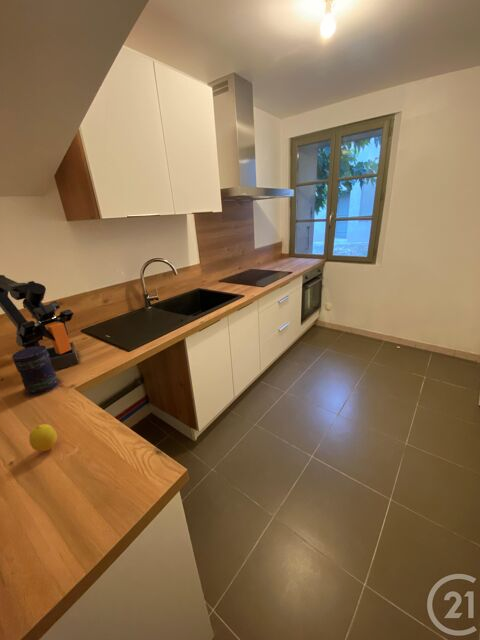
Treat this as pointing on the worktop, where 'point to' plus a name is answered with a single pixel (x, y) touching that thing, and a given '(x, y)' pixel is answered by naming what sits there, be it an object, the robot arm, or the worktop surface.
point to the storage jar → (35, 370)
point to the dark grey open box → (63, 358)
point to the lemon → (42, 437)
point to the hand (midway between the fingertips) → (61, 337)
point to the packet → (59, 338)
